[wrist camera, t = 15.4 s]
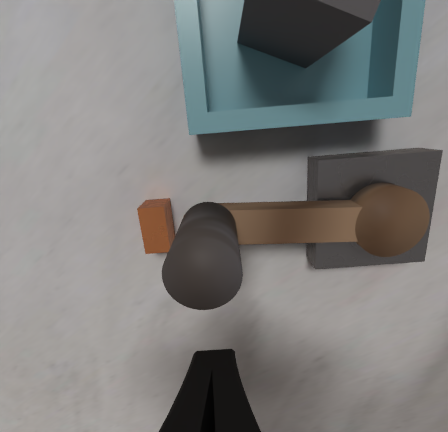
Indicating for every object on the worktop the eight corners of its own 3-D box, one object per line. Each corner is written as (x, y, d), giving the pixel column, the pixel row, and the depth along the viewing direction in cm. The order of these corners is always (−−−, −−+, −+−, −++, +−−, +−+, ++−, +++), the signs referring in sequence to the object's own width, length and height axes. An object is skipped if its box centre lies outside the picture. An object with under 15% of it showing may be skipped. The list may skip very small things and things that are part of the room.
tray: (393, -119, 13) (450, -200, 10) (373, 118, 17) (410, 116, 14) (171, -97, 14) (154, -169, 10) (195, 133, 17) (189, 135, 14)
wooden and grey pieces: (418, 147, 17) (442, 150, 15) (404, 248, 20) (424, 261, 18) (140, 170, 18) (131, 175, 16) (157, 266, 20) (150, 281, 18)
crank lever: (417, 181, 16) (543, 216, 10) (404, 245, 17) (509, 313, 11) (182, 187, 16) (156, 226, 10) (187, 250, 17) (166, 321, 11)
